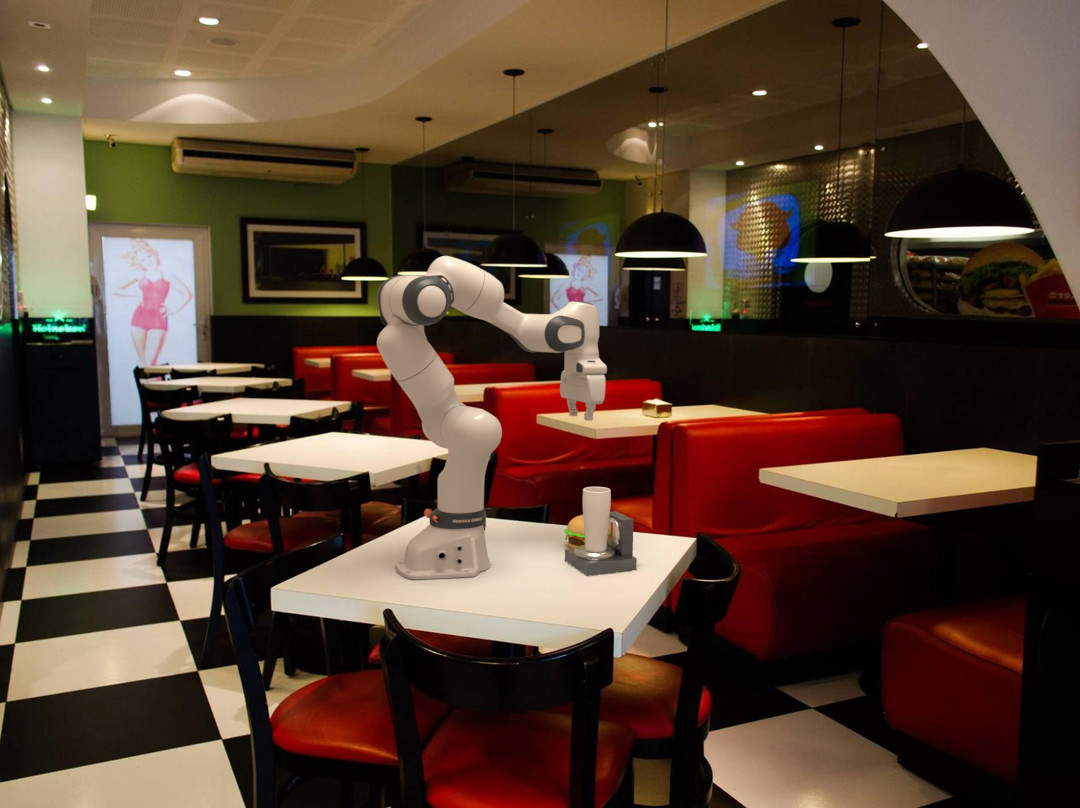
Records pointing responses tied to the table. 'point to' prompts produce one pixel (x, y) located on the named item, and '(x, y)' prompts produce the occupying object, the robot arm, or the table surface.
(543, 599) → the table surface
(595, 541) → the drinking glass
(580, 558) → the dial scale
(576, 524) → the hamburger
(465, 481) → the robot arm
